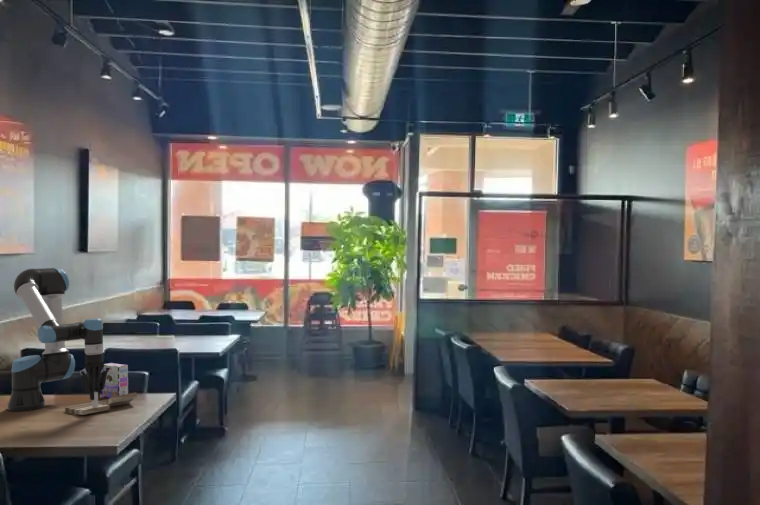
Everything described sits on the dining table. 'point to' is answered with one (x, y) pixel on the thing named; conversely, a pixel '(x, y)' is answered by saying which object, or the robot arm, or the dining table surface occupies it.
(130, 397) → the plank
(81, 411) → the plank
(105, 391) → the candy box
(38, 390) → the robot arm
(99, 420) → the dining table surface
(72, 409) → the floor board
